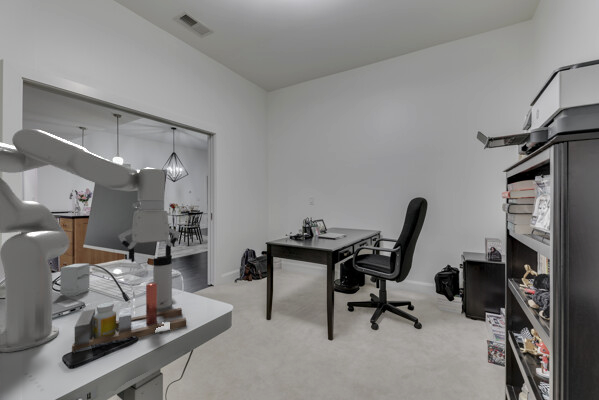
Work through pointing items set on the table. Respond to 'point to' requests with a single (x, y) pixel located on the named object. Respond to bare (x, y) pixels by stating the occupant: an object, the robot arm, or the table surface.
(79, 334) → the vise bench
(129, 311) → the vise slider
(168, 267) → the travel mug
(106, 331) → the supplement bottle
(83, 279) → the supplement box
